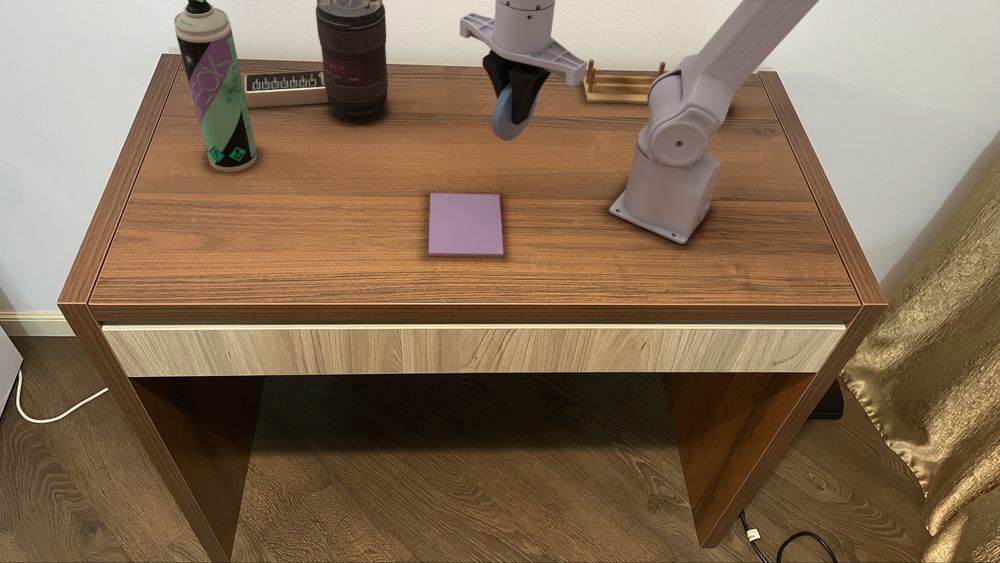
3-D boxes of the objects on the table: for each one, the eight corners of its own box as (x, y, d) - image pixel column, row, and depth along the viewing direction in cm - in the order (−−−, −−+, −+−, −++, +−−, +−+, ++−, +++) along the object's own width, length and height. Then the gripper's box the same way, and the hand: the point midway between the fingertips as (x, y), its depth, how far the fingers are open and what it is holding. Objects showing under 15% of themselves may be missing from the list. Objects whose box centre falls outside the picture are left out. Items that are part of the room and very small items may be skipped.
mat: (430, 196, 87) (430, 192, 87) (499, 197, 88) (499, 194, 88) (428, 256, 80) (428, 252, 80) (503, 257, 81) (503, 254, 81)
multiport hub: (247, 89, 100) (244, 74, 99) (331, 84, 102) (330, 69, 101) (247, 108, 97) (244, 92, 96) (334, 102, 99) (332, 87, 98)
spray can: (211, 145, 91) (170, -16, 77) (258, 143, 92) (226, -17, 78) (207, 173, 88) (163, 9, 73) (256, 170, 89) (222, 8, 74)
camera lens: (323, 126, 96) (309, 14, 85) (331, 91, 101) (318, -18, 90) (387, 128, 96) (382, 17, 85) (391, 93, 102) (386, -15, 91)
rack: (657, 81, 108) (664, 56, 106) (666, 104, 104) (672, 78, 101) (582, 78, 108) (586, 53, 105) (587, 102, 103) (591, 76, 100)
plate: (527, 121, 86) (533, 65, 81) (534, 124, 86) (541, 69, 81) (489, 148, 82) (493, 91, 77) (496, 151, 82) (500, 95, 77)
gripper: (611, 8, 72) (590, 128, 82) (492, -39, 77) (485, 78, 87) (570, 34, 68) (552, 157, 77) (447, -18, 73) (445, 103, 83)
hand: (514, 117), depth 82 cm, fingers closed on plate, 1 cm apart
